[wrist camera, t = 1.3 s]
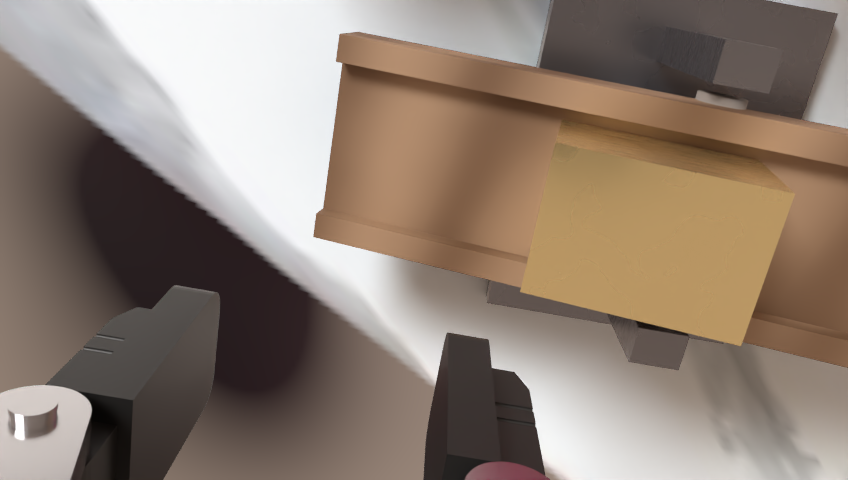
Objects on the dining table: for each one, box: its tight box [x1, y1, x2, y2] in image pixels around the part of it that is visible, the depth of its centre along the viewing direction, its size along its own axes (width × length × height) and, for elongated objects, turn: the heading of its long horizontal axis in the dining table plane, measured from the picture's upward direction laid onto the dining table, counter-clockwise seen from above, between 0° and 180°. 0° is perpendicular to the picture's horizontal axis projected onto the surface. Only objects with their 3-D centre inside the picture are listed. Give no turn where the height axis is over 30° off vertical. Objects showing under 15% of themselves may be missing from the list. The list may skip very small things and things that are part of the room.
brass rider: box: [520, 119, 795, 346], centre depth 25 cm, size 7×5×5 cm
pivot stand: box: [486, 0, 837, 370], centre depth 31 cm, size 12×16×8 cm
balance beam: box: [313, 32, 848, 368], centre depth 29 cm, size 28×9×5 cm, turn 80°
